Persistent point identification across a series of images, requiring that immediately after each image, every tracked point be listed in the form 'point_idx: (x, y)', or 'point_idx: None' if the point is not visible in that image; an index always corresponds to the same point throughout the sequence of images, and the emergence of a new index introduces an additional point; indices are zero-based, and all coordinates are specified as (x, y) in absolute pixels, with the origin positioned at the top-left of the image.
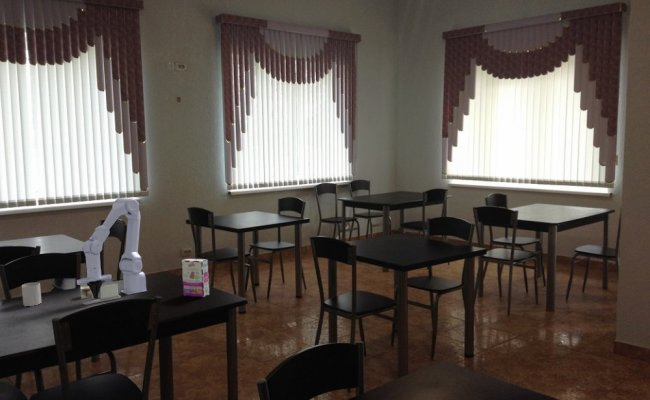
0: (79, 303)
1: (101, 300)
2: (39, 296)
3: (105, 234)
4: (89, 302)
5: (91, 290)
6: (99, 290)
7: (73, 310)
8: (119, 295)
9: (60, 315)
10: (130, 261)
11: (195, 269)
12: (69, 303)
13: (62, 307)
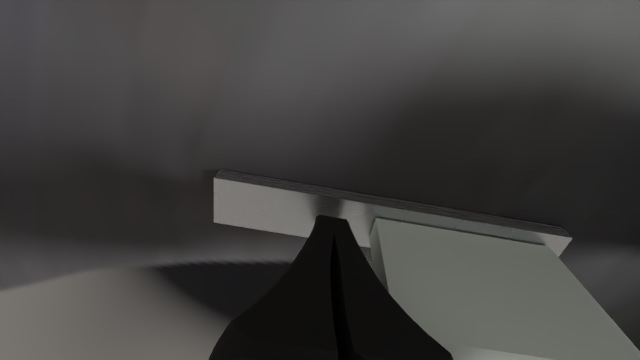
0: (200, 117)
1: (365, 243)
2: None
3: None
4: (255, 227)
5: (294, 268)
6: (387, 290)
7: (100, 261)
8: (557, 254)
9: (3, 288)
10: None
11: None
12: (109, 10)
13: (20, 109)
